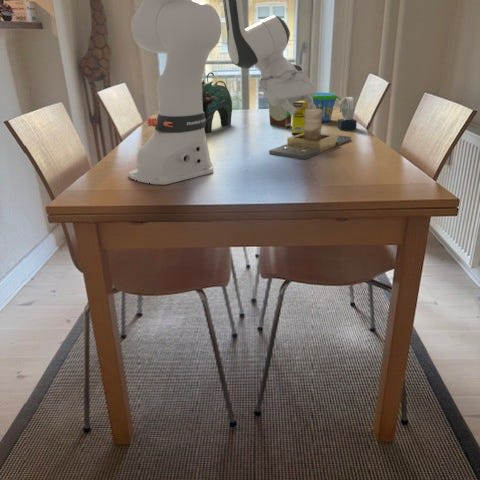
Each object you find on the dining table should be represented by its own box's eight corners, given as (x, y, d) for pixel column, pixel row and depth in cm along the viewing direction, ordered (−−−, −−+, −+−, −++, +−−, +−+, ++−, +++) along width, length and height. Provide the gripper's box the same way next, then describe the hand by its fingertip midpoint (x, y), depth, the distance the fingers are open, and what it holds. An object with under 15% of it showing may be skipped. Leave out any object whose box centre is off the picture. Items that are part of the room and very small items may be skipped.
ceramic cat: (207, 134, 158) (204, 74, 150) (192, 133, 161) (188, 74, 153) (235, 124, 174) (234, 69, 165) (221, 123, 176) (219, 69, 168)
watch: (350, 126, 165) (353, 95, 160) (357, 130, 157) (360, 98, 153) (335, 127, 164) (337, 95, 160) (341, 131, 157) (344, 98, 152)
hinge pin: (314, 149, 134) (316, 111, 130) (300, 147, 137) (301, 110, 132) (323, 146, 138) (325, 109, 133) (309, 144, 140) (310, 108, 136)
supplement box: (309, 135, 152) (310, 102, 148) (291, 135, 153) (292, 102, 149) (310, 132, 157) (311, 99, 153) (293, 131, 159) (294, 99, 154)
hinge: (304, 159, 124) (305, 148, 122) (269, 153, 130) (269, 143, 129) (351, 140, 144) (351, 130, 143) (318, 135, 151) (318, 126, 150)
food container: (300, 127, 166) (301, 99, 162) (288, 129, 163) (288, 100, 159) (280, 122, 175) (280, 95, 171) (267, 124, 172) (267, 97, 168)
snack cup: (342, 118, 179) (344, 92, 175) (340, 123, 170) (342, 95, 166) (303, 118, 183) (304, 92, 179) (299, 122, 174) (300, 95, 170)
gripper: (262, 70, 128) (289, 108, 126) (305, 66, 141) (329, 100, 139) (251, 86, 133) (276, 123, 130) (293, 80, 146) (316, 114, 144)
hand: (304, 111), depth 135 cm, fingers open, 8 cm apart
